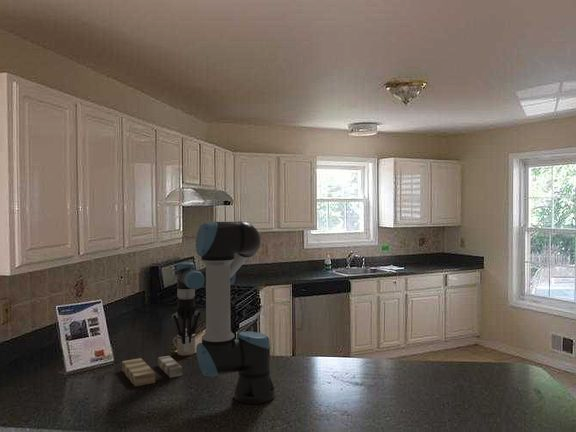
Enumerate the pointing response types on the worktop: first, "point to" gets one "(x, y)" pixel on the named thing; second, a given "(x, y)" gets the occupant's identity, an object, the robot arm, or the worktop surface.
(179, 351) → the teacup with lid
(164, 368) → the plank
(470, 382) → the worktop surface
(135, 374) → the oak floor row
